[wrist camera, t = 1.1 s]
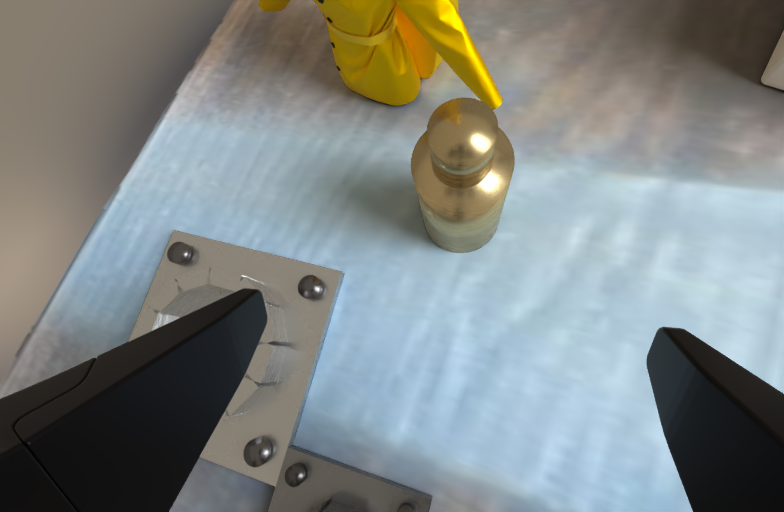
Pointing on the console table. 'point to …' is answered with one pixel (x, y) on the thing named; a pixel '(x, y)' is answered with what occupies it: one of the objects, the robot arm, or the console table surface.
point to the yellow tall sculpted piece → (400, 46)
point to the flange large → (275, 349)
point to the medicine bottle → (775, 67)
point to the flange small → (338, 488)
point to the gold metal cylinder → (462, 174)
